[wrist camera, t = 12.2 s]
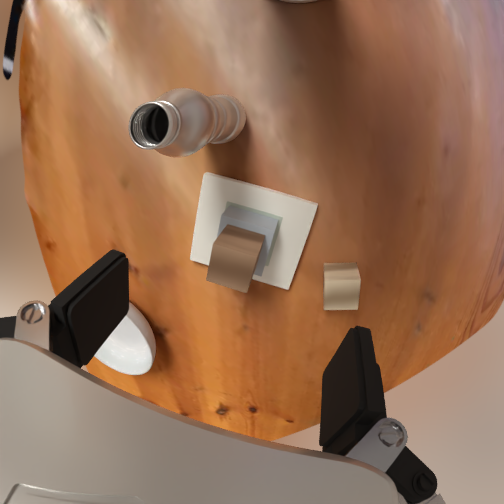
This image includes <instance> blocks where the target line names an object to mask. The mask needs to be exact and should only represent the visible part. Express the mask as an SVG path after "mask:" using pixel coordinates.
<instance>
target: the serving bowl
mask: <svg viewBox="0 0 504 504" xmlns="http://www.w3.org/2000/svg"><path fill="white" fill-rule="evenodd" d="M155 354H156V343H155V338H154V334H153V331H152V329H151V327H150V325H149V323H148V321H147V320H146V318H145V317H144V316H143V315H142V313H141V312H140V311H139V310H138V309H137V308H136V307H135V306H134V305H133V304H131V303H130V302H129V311H128V313H127V315H126V316H125V317H124V319H123V320H122V321H121V322H120V323H119V325H118V326H117V327H116V328H115V330H114V331H113V332H112V333H111V335H110V336H109V337H108V338H107V340H106V341H105V342H104V343H103V345H102V346H101V347H100V349H99V350H98V351H97V352H96V354H95V355H94V356H95V357H96V358H97V359H99V360H100V361H101V362H103V363H104V364H105V365H107V366H109V367H111V368H112V369H114V370H117V371H119V372H122V373H125V374H130V375H141V374H144V373H146V372H148V371H149V370H150V368H151V367H152V364H153V362H154V358H155Z"/></svg>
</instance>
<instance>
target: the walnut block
mask: <svg viewBox="0 0 504 504" xmlns="http://www.w3.org/2000/svg"><path fill="white" fill-rule="evenodd" d="M264 238H265V235H263V234H260V233H256V232H253V231H250V230H246V229H243V228H240V227H236V226H233V225H229V224H227V225H226V227H225V228H224V229H223V231H222V232H221V233H220V235H219V236H218V237H217V239H216V240H215V241H214V243H213V246H212V251H211V257H210V262H209V267H208V273H207V278H206V280H207V281H210V282H213V283H216V284H219V285H222V286H225V287H228V288H231V289H235V290H238V291H241V292H244V293H247V291H248V288H249V286H250V283H251V280H252V278H253V275H254V272H255V269H256V266H257V263H258V259H259V256H260V252H261V249H262V245H263V242H264Z"/></svg>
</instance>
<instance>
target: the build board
mask: <svg viewBox="0 0 504 504" xmlns="http://www.w3.org/2000/svg"><path fill="white" fill-rule="evenodd" d="M229 206H233V207H237V208H240V209H244V210H247V211H251V212H254V213H257V214H261V215H264V216H268V217H271V218H274V219H278V223H277V226H276V230H275V233H274V237H273V240H272V243H271V247H270V250H269V253H268V257H267V260H266V264H265V267H264V270H263V273H262V276H258V275H253V278H252V279H253V280H257V281H260V282H263V283H267V284H270V285H273V286H277V287H280V288H283V289H287V290H288V289H289V286H290V284H291V281H292V278H293V276H294V273H295V270H296V267H297V265H298V262H299V259H300V256H301V253H302V250H303V248H304V245H305V242H306V239H307V236H308V233H309V230H310V227H311V224H312V221H313V219H314V216H315V213H316V210H317V207H318V203H315V202H312V201H309V200H306V199H303V198H299V197H296V196H293V195H289V194H286V193H283V192H279V191H276V190H272V189H269V188H265V187H262V186H258V185H254V184H251V183H247V182H243V181H240V180H236V179H232V178H228V177H225V176H221V175H217V174H213V173H209V172H206V173H204V176H203V182H202V187H201V193H200V199H199V204H198V210H197V216H196V223H195V229H194V235H193V242H192V249H191V256H190V260H193V261H196V262H199V263H202V264H205V265H208V266H209V262H210V257H211V251H212V246H213V243H214V241H215V240H216V239H217V234H218V229H219V224H220V219H221V215H222V214H223V213H224V211H225V210H226V209H227V208H228V207H229Z"/></svg>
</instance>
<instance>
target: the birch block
mask: <svg viewBox="0 0 504 504" xmlns="http://www.w3.org/2000/svg"><path fill="white" fill-rule="evenodd" d="M360 284H361V278H360V274H359V270H358V266H357V263H324V283H323V297H324V310H358V304H359V294H360Z"/></svg>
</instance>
